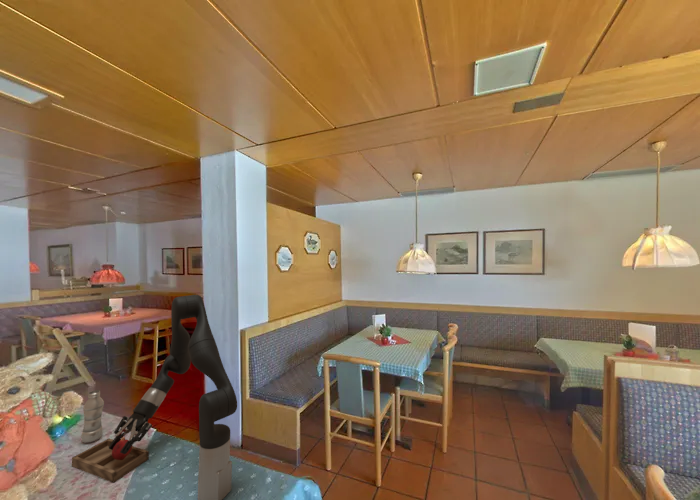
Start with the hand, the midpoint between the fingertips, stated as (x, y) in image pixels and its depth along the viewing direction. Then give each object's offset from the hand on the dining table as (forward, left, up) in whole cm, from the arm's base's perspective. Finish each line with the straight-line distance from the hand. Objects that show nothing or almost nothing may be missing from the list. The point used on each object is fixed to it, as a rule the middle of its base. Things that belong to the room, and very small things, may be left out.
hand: (116, 451), depth 102 cm
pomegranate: (0, -2, -5) cm, 5 cm away
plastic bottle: (+28, -8, -7) cm, 29 cm away
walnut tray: (+6, -2, -7) cm, 9 cm away
